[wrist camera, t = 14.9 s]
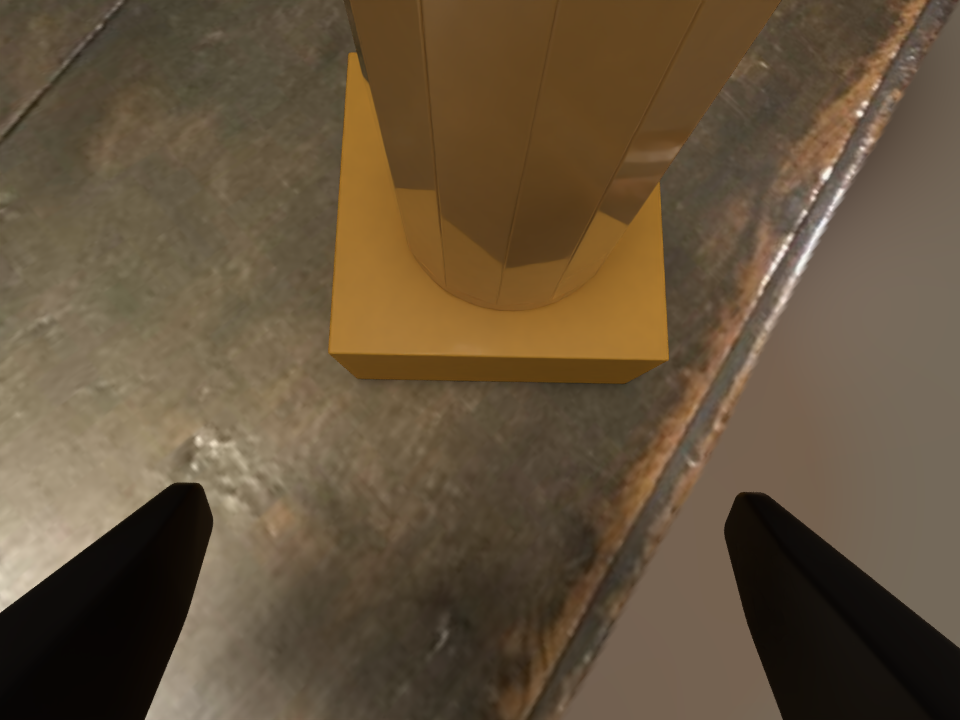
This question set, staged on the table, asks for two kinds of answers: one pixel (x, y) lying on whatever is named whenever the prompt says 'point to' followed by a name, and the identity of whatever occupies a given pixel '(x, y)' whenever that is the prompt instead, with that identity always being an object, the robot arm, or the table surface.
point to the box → (467, 327)
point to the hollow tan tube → (536, 126)
